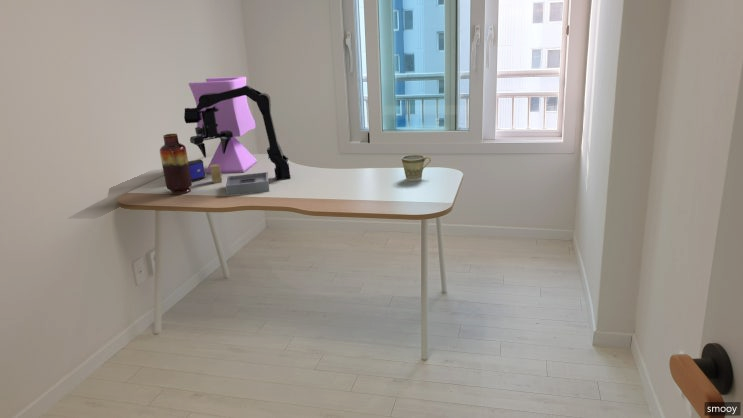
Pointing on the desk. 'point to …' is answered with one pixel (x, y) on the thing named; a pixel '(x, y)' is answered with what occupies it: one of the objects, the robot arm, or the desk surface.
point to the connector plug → (216, 173)
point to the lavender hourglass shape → (228, 123)
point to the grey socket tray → (247, 183)
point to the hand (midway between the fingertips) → (214, 155)
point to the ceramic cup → (414, 166)
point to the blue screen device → (196, 170)
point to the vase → (175, 165)
